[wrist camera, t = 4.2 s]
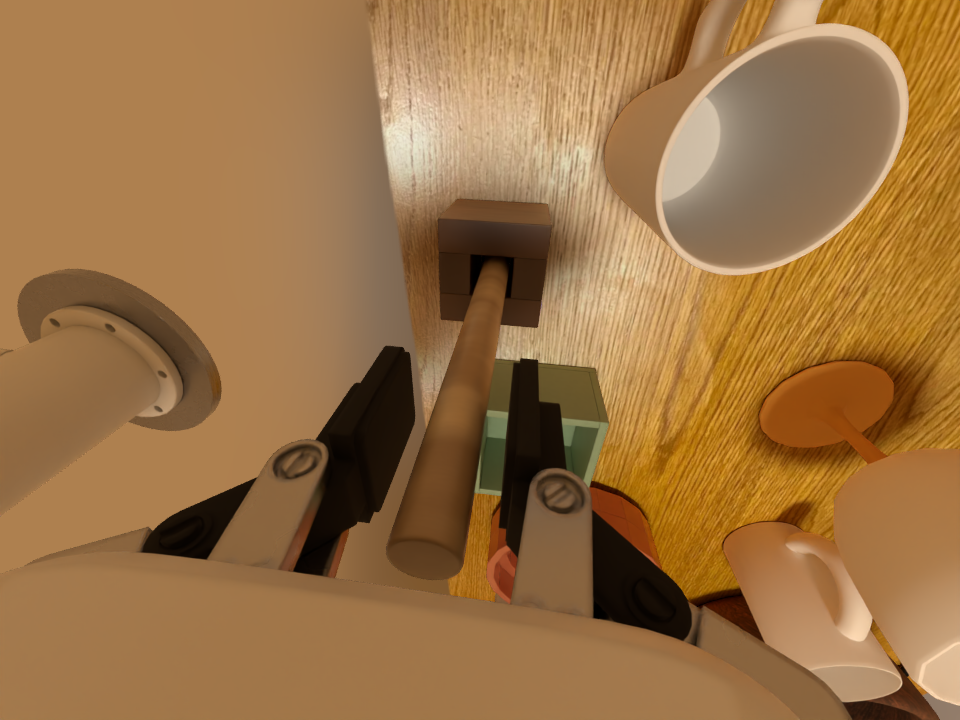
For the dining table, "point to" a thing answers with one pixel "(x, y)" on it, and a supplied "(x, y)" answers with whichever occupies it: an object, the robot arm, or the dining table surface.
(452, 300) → the holder
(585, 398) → the tub
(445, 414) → the stick
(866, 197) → the mug
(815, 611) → the mug
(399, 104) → the dining table surface
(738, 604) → the wooden bowl
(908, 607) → the cup
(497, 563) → the bowl
